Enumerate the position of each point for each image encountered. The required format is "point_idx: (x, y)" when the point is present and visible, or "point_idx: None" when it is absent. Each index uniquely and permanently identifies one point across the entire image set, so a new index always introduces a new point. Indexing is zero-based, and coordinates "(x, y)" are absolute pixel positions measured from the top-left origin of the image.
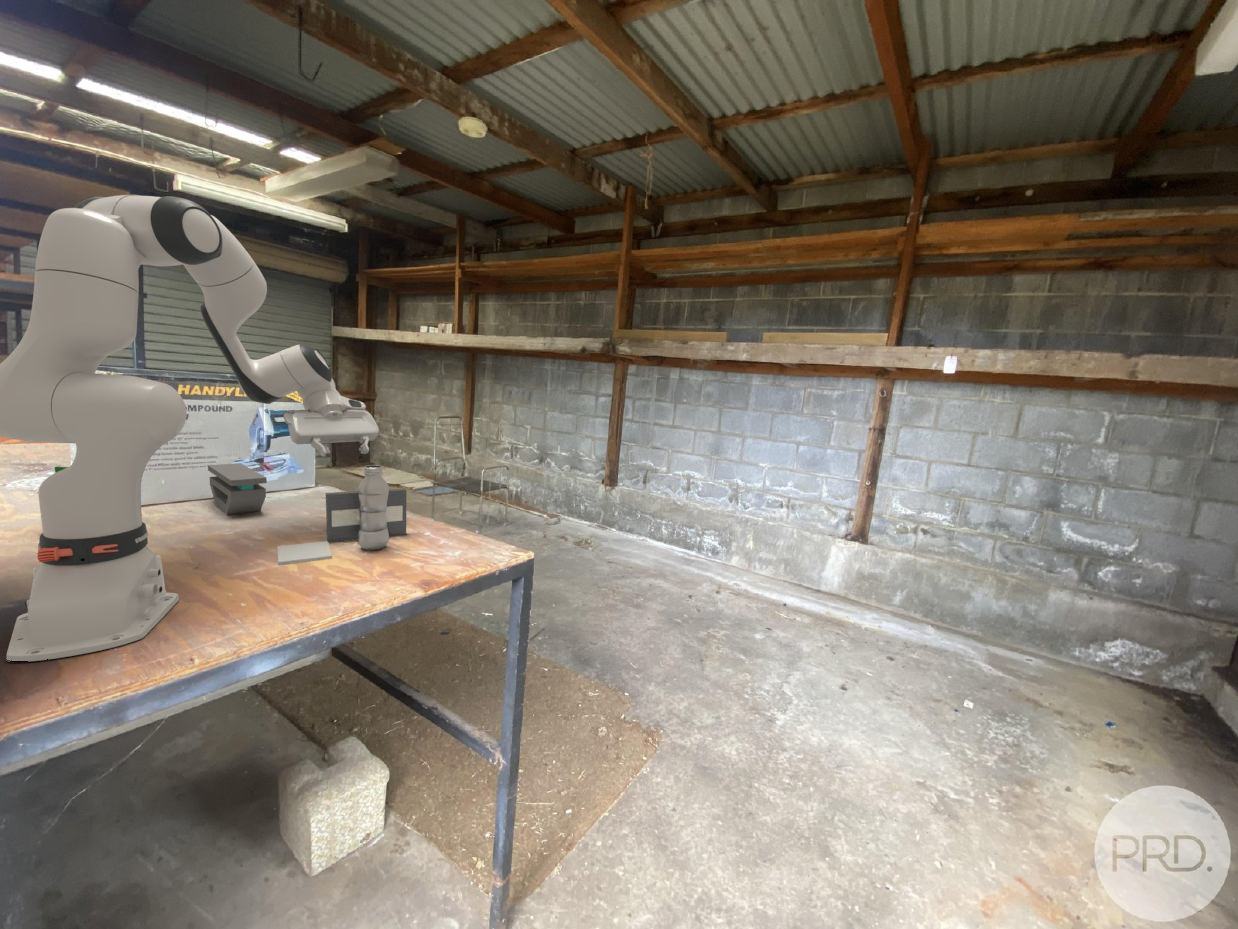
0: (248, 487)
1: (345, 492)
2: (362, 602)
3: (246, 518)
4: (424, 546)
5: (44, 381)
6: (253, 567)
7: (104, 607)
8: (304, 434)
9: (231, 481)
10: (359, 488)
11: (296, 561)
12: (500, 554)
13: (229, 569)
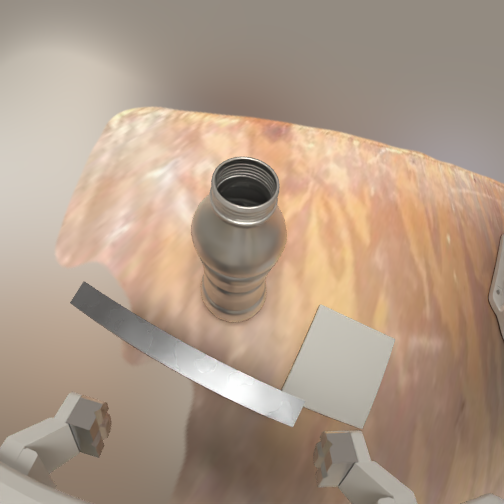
0: None
1: (240, 392)
2: (357, 150)
3: None
4: (162, 234)
5: None
6: (419, 355)
7: None
8: (482, 502)
9: None
10: (286, 238)
11: (371, 328)
12: (131, 131)
13: (441, 370)
